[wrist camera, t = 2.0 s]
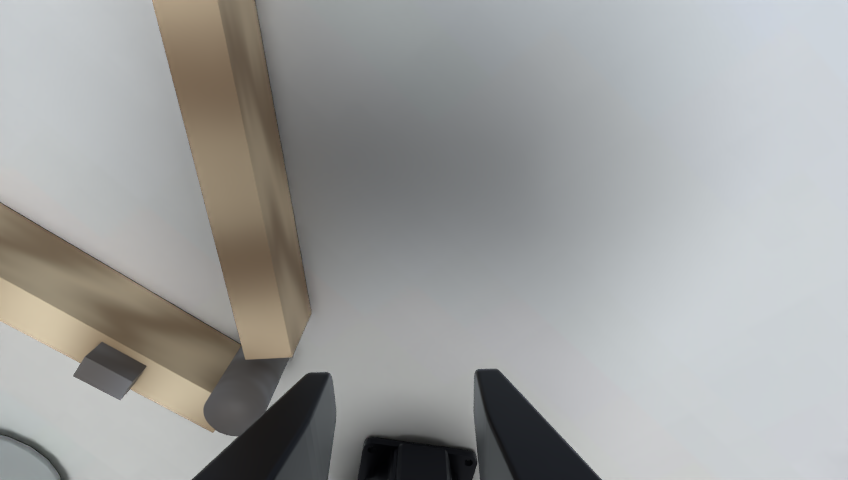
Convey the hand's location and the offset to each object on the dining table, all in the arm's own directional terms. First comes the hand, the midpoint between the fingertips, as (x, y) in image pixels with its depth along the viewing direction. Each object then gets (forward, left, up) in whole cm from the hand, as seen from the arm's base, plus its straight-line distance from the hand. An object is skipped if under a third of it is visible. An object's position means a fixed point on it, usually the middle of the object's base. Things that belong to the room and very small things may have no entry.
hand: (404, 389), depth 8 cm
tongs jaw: (+3, +8, -12) cm, 15 cm away
